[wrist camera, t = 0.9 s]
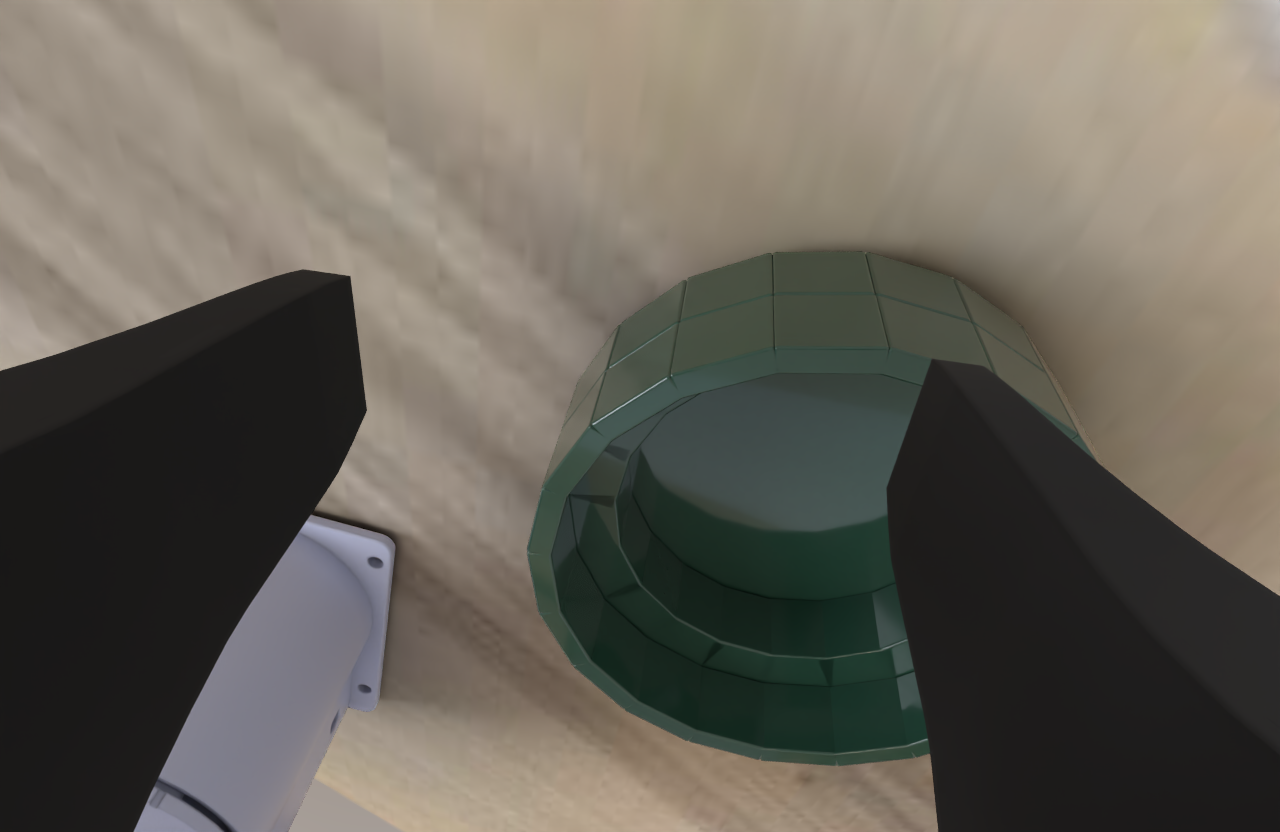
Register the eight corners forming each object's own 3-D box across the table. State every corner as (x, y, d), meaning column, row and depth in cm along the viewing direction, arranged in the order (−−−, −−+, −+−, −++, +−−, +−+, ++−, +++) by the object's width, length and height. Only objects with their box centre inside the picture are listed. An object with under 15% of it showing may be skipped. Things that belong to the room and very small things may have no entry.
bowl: (921, 665, 27) (949, 811, 23) (533, 560, 26) (492, 691, 22) (1171, 330, 19) (1279, 460, 15) (632, 170, 19) (596, 262, 15)
